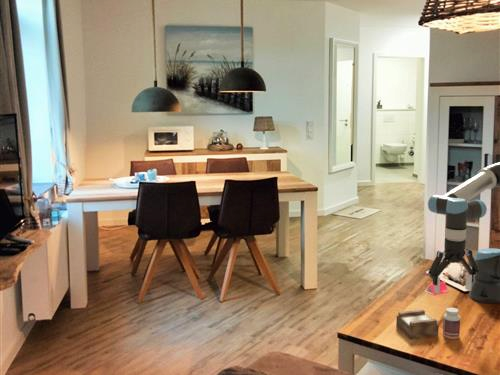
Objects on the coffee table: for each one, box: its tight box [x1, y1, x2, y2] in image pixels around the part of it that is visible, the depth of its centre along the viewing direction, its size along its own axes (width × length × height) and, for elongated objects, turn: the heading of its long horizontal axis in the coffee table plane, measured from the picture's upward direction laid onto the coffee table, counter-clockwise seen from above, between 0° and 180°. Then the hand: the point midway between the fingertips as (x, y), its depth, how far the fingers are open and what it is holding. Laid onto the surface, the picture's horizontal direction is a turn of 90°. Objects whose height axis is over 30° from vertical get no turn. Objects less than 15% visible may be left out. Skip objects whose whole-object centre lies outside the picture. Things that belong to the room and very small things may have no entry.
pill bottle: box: [442, 307, 461, 340], centre depth 213 cm, size 6×6×11 cm
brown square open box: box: [395, 309, 440, 340], centre depth 218 cm, size 12×12×6 cm
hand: (452, 291), depth 211 cm, fingers open, 13 cm apart
